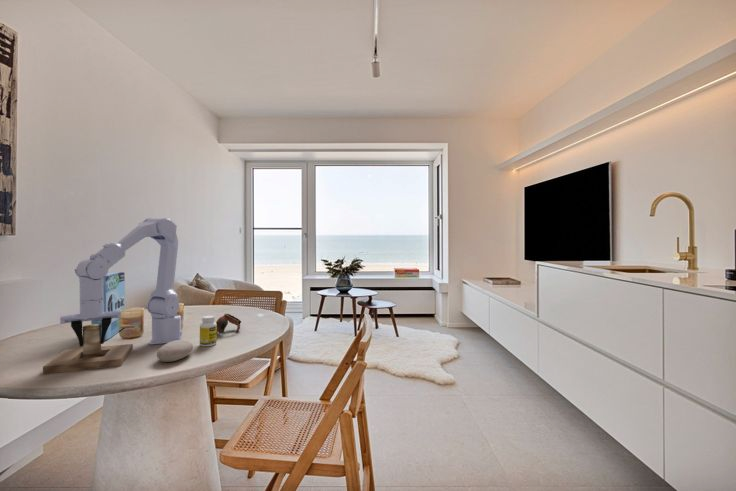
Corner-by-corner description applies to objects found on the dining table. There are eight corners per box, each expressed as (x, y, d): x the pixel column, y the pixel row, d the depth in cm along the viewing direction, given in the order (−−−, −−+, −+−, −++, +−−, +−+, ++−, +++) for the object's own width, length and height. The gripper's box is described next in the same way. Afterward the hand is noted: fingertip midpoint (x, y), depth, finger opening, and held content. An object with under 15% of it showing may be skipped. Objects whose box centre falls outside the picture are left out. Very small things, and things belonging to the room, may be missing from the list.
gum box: (106, 341, 131) (106, 277, 131) (89, 342, 130) (89, 277, 129) (126, 327, 150) (125, 271, 149) (111, 328, 149) (111, 272, 148)
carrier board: (132, 349, 122) (132, 343, 121) (120, 365, 107) (120, 359, 107) (65, 355, 115) (65, 349, 115) (42, 373, 100) (42, 366, 100)
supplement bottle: (210, 347, 125) (210, 318, 125) (196, 346, 126) (196, 318, 126) (219, 342, 130) (219, 315, 130) (206, 341, 132) (206, 314, 131)
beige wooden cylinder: (101, 349, 114) (101, 323, 114) (100, 352, 110) (100, 326, 110) (83, 351, 111) (83, 325, 111) (82, 355, 108) (82, 328, 107)
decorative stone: (179, 366, 107) (179, 349, 107) (148, 365, 108) (148, 348, 107) (199, 352, 120) (199, 337, 120) (172, 351, 120) (172, 336, 120)
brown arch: (216, 330, 150) (227, 312, 151) (236, 341, 149) (246, 323, 151) (204, 330, 138) (216, 310, 140) (225, 342, 137) (237, 322, 139)
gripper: (120, 295, 118) (120, 337, 118) (61, 299, 109) (62, 344, 110) (121, 298, 112) (121, 342, 112) (59, 303, 104) (59, 351, 104)
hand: (92, 344), depth 111 cm, fingers closed on beige wooden cylinder, 4 cm apart
